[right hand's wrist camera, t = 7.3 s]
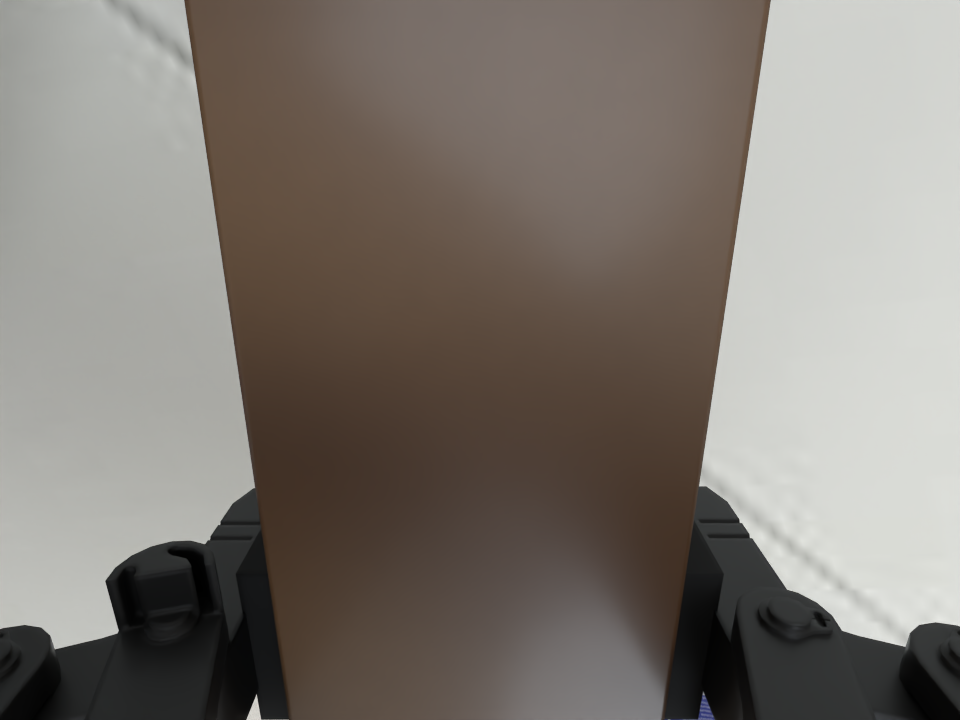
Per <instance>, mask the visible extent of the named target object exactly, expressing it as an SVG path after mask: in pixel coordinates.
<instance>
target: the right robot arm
mask: <svg viewBox="0 0 960 720" xmlns="http://www.w3.org/2000/svg"><path fill="white" fill-rule="evenodd" d="M106 585H107V589H108V592H109V596H110V600H111V603H112V607H113V611H114V614H115V618H116V622H117V625H118V629H119V632H118V634H115V635H111V636H108V637H105V638H102V639H97V640H93V641H89V642H85V643H80V644H76V645H72V646H68V647H64V648H59V649H54V646H53V643H52V640H51V637H50V635H49V634H48V633H47V632H45V631H44V630H43V629H42V628H40V627H33V626H27V625H22V626H15V627H9V628H3V629H0V720H246V719H247V716H248V714H249V712H250V709H251V707H252V704H253V702H254V699H255V697H256V694H257V698H258V703H259V709H260V715H261V720H289V716H288V709H287V702H286V695H285V688H284V682H283V675H282V668H281V661H280V654H279V647H278V640H277V633H276V627H275V620H274V613H273V606H272V599H271V592H270V585H269V578H268V572H267V565H266V558H265V551H264V544H263V537H262V530H261V523H260V517H259V510H258V503H257V496H256V489H255V488H254V489H252V490H251V491H250V492H248V493H247V494H245V495H244V496H243V497H241V498H240V499H239V500H237V501H236V502H234V503H233V504H232V506H231V507H230V509H229V510H228V511H227V513H226V514H225V516H224V517H223V519H222V520H221V524H220V525H218V526H217V528H216V529H215V531H214V532H213V534H212V535H211V539H210V540H208V541H207V543H206V544H201V543H197V542H193V541H172V542H168V543H164V544H160V545H156V546H152V547H149V548H147V549H145V550H143V551H141V552H139V553H136V554H134V555H132V556H131V557H129V558H128V559H127V560H125V561H124V562H122V563H121V564H120V565H118V566H117V567H116V568H115V569H114V570H113V572H112V573H111V574H110V576H109V577H108V578H107V580H106ZM703 692H704V694H705V697H706V699H707V702H708V704H709V707H710V709H711V712H712V714H713V717H714V719H715V720H960V626H956V625H949V624H942V623H929V624H923V625H919V626H918V627H916V628H915V629H914V630H913V631H912V632H911V633H910V635H909V638H908V641H907V644H906V647H903V646H899V645H895V644H890V643H886V642H882V641H877V640H873V639H869V638H865V637H860V636H857V635H853V634H850V633H847V632H844V631H842V630H841V629H840V627H839V626H838V624H837V623H836V621H835V619H834V618H833V616H832V615H831V614H830V613H828V612H827V611H826V610H825V609H824V608H822V607H821V606H820V605H819V604H818V603H816V602H814V601H812V600H811V599H809V598H807V597H805V596H803V595H801V594H799V593H796V592H793V591H789V590H787V589H786V588H785V586H784V585H783V583H782V582H781V580H780V579H779V577H778V576H777V574H776V573H775V571H774V570H773V568H772V567H771V565H770V564H769V563H768V561H767V560H766V558H765V557H764V555H763V554H762V552H761V551H760V549H759V548H758V546H757V545H756V543H755V542H754V540H753V539H752V538H750V537H749V533H748V532H747V530H746V529H745V527H744V526H743V524H742V523H740V522H739V518H738V517H737V515H736V514H735V512H734V511H733V509H732V508H731V507H730V505H729V504H728V502H727V501H725V500H724V499H723V498H721V497H720V496H719V495H717V494H716V493H714V492H713V491H712V490H710V489H709V488H708V487H699V488H698V495H697V502H696V509H695V515H694V522H693V529H692V536H691V542H690V549H689V556H688V563H687V570H686V576H685V583H684V590H683V597H682V603H681V610H680V617H679V624H678V630H677V637H676V644H675V651H674V657H673V664H672V671H671V678H670V684H669V691H668V698H667V705H666V712H665V718H664V719H698V718H699V712H700V707H701V701H702V695H703Z"/></svg>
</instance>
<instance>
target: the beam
mask: <svg viewBox="0 0 960 720" xmlns="http://www.w3.org/2000/svg"><path fill="white" fill-rule="evenodd" d="M184 1H185V8H186V15H187V21H188V28H189V35H190V42H191V49H192V56H193V63H194V70H195V76H196V83H197V90H198V97H199V104H200V111H201V118H202V125H203V131H204V138H205V145H206V152H207V159H208V166H209V173H210V180H211V186H212V193H213V200H214V207H215V214H216V221H217V228H218V235H219V241H220V248H221V255H222V262H223V269H224V276H225V283H226V290H227V296H228V303H229V310H230V317H231V324H232V331H233V338H234V345H235V351H236V358H237V365H238V372H239V379H240V386H241V393H242V400H243V406H244V413H245V420H246V427H247V434H248V441H249V448H250V455H251V462H252V468H253V475H254V482H255V489H256V496H257V503H258V510H259V517H260V523H261V530H262V537H263V544H264V551H265V558H266V565H267V572H268V578H269V585H270V592H271V599H272V606H273V613H274V620H275V627H276V633H277V640H278V647H279V654H280V661H281V668H282V675H283V682H284V688H285V695H286V702H287V709H288V716H289V720H664V718H665V712H666V705H667V698H668V691H669V684H670V678H671V671H672V664H673V657H674V651H675V644H676V637H677V630H678V624H679V617H680V610H681V603H682V597H683V590H684V583H685V576H686V570H687V563H688V556H689V549H690V542H691V536H692V529H693V522H694V515H695V509H696V502H697V495H698V488H699V482H700V475H701V468H702V461H703V455H704V448H705V441H706V434H707V428H708V421H709V414H710V407H711V400H712V394H713V387H714V380H715V373H716V367H717V360H718V353H719V346H720V340H721V333H722V326H723V319H724V313H725V306H726V299H727V292H728V286H729V279H730V272H731V265H732V258H733V252H734V245H735V238H736V231H737V225H738V218H739V211H740V204H741V198H742V191H743V184H744V177H745V171H746V164H747V157H748V150H749V144H750V137H751V130H752V123H753V116H754V110H755V103H756V96H757V89H758V83H759V76H760V69H761V62H762V56H763V49H764V42H765V35H766V29H767V22H768V15H769V8H770V1H771V0H184Z"/></svg>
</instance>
